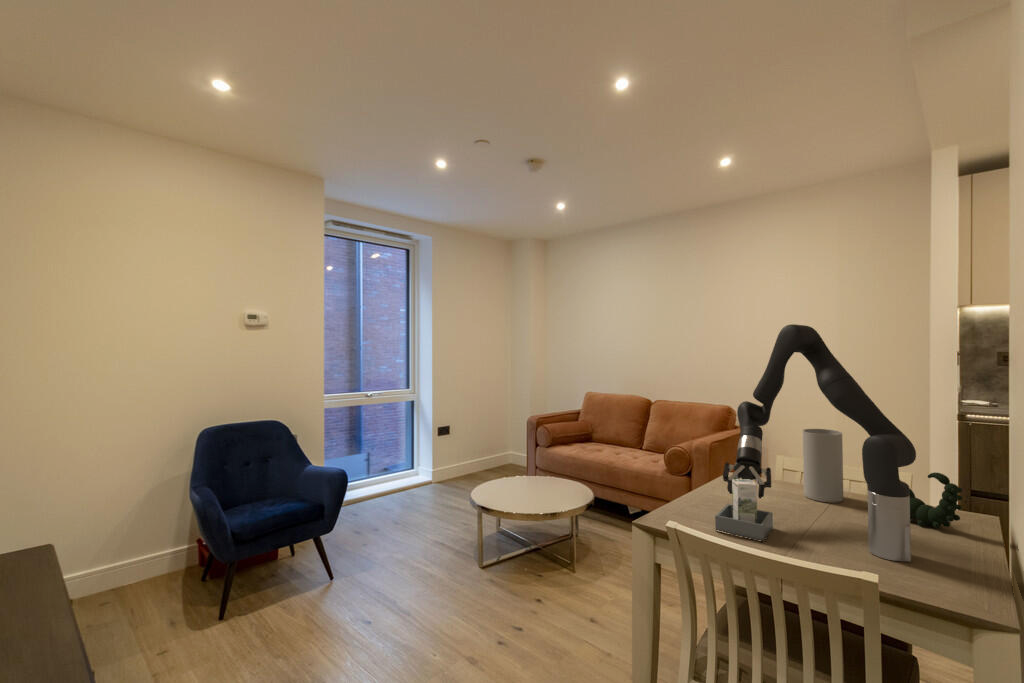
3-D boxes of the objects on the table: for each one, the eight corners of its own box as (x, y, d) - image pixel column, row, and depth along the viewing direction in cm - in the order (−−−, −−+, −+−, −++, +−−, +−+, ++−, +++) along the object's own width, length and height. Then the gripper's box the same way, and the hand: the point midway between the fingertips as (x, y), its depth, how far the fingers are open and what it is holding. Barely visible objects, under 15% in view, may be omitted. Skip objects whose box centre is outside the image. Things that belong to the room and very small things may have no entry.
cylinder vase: (796, 494, 184) (794, 430, 184) (820, 491, 188) (819, 427, 188) (826, 505, 172) (824, 435, 172) (851, 501, 176) (850, 433, 176)
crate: (772, 528, 152) (772, 512, 152) (763, 542, 142) (763, 525, 142) (727, 518, 161) (727, 503, 161) (715, 531, 150) (715, 515, 150)
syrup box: (751, 523, 154) (750, 478, 154) (757, 530, 148) (756, 483, 148) (732, 522, 155) (731, 478, 155) (738, 529, 149) (737, 483, 149)
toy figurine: (965, 538, 146) (882, 504, 170) (971, 478, 145) (886, 452, 169) (943, 542, 144) (862, 507, 168) (949, 481, 142) (866, 454, 166)
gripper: (725, 443, 165) (719, 485, 156) (772, 448, 157) (769, 492, 148) (728, 455, 170) (722, 497, 160) (773, 460, 162) (771, 504, 152)
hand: (745, 494), depth 154 cm, fingers open, 8 cm apart
